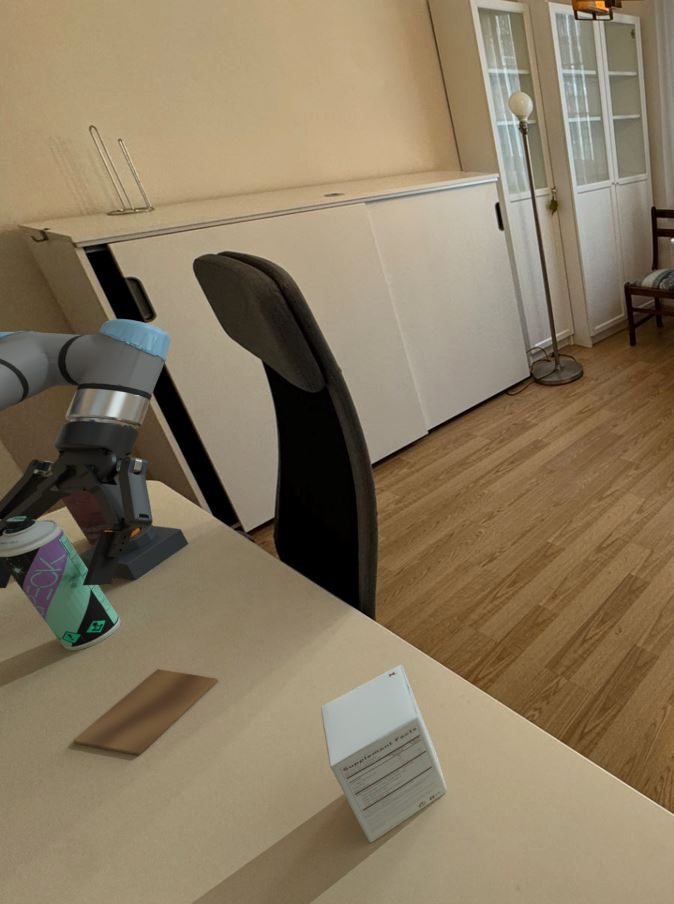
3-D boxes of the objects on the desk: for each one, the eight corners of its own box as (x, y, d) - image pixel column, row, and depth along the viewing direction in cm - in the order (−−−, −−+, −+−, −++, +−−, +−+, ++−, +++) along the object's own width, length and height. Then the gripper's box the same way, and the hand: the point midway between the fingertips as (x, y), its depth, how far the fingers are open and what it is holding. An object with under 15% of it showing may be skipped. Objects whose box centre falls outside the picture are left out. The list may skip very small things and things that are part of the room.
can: (119, 521, 98) (80, 455, 92) (150, 524, 97) (112, 457, 91) (79, 546, 93) (34, 477, 87) (111, 549, 92) (68, 479, 86)
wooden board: (74, 743, 63) (72, 740, 63) (159, 671, 71) (157, 668, 71) (139, 755, 62) (137, 752, 61) (218, 680, 70) (216, 678, 69)
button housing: (83, 573, 87) (67, 548, 85) (139, 538, 94) (126, 514, 92) (135, 580, 85) (120, 555, 83) (188, 543, 93) (176, 520, 90)
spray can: (64, 634, 76) (-18, 520, 68) (120, 610, 80) (47, 498, 72) (64, 658, 73) (-23, 540, 65) (122, 632, 77) (46, 517, 68)
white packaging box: (356, 782, 59) (318, 704, 53) (431, 737, 63) (403, 660, 58) (368, 847, 53) (327, 768, 48) (449, 793, 57) (419, 714, 52)
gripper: (214, 429, 82) (168, 583, 75) (45, 434, 82) (-18, 588, 74) (167, 416, 75) (111, 584, 67) (-19, 421, 75) (-95, 590, 67)
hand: (43, 587), depth 71 cm, fingers open, 13 cm apart
